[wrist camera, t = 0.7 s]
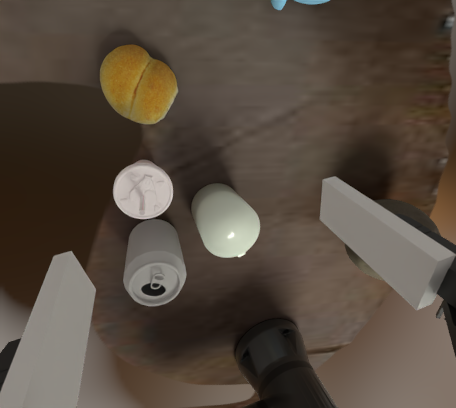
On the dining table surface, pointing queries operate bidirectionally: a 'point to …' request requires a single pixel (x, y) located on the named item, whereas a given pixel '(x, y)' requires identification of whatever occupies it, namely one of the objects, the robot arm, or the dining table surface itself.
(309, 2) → the teapot
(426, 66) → the dining table surface
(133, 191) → the smoothie
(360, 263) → the cantaloupe
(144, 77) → the bread roll
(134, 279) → the can
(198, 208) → the sage mug
